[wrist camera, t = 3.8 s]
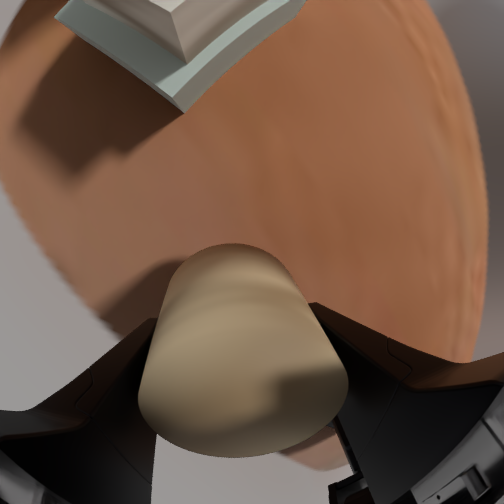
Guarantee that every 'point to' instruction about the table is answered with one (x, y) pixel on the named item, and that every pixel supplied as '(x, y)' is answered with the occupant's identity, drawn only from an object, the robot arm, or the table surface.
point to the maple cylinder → (238, 358)
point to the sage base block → (166, 64)
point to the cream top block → (178, 20)
